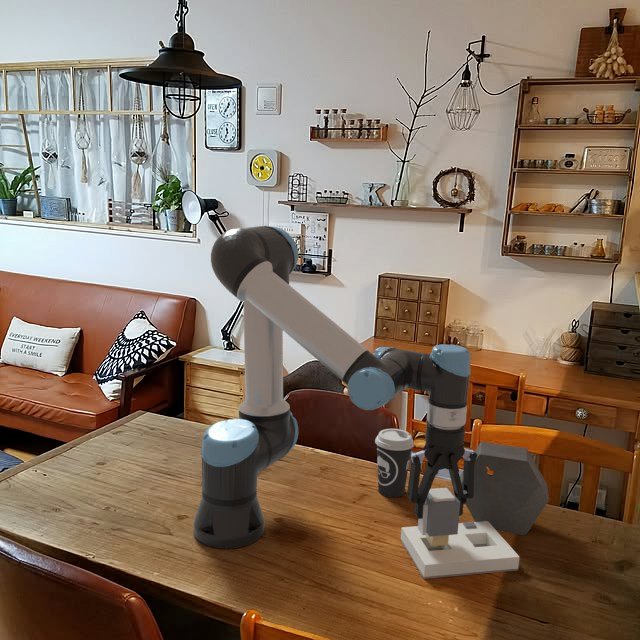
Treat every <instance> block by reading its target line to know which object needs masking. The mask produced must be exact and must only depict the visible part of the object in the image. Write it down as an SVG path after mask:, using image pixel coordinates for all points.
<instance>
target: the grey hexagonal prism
mask: <svg viewBox="0 0 640 640" xmlns="http://www.w3.org/2000/svg"><path fill="white" fill-rule="evenodd" d="M474 452H475V453H476V454H477V458H476V461H475V464H474V496H473V498H471V499H469V498H468V499H466V500H467V502H466V503H465V504H464V505H465V507H466V508H467V510H468V511H469V514H470V515H471V517H472V518H473V520H474V522H482V521H488V522H489V523H490V524H491V525H492V526H493V527H494V529H495V530H496V531H497V532H501V533H502V532H503V533H509V534H514V535H520V536H526V535H527V534H528V533H529V531H530V530H531V528H532V527H533V525H534V524H535V522H536V521H537V519H538V517H539V516H540V515H541V513H542V512H543V511H544V509H545V507H546V506H547V504H549V503H548V502H549V501H550V498H549V497H550V496H549V490H548V489H549V488H548V483H547V482H546V479H545V478H544V476H543V475H542V473H541V472H540V469H539V467H538V466H537V464H536V462H535V460H534V459H533V457H532V456H531V454H530V451H529V450H528V448H526V447H520V446H514V445H506V444H498V443H493V442H492V443H491V442H487V441H486V442H485V441H481V442H480V443H479V444H478V446H477V447H476V449H475V450H474ZM489 471H490V472H493V473H492V474H489V473H488V472H489ZM459 475H460V480H461V484H462V488H463V471H462V472H461V474H459Z"/></svg>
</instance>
